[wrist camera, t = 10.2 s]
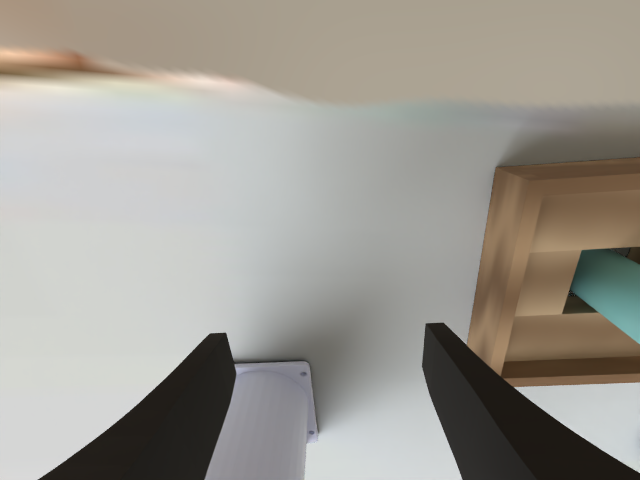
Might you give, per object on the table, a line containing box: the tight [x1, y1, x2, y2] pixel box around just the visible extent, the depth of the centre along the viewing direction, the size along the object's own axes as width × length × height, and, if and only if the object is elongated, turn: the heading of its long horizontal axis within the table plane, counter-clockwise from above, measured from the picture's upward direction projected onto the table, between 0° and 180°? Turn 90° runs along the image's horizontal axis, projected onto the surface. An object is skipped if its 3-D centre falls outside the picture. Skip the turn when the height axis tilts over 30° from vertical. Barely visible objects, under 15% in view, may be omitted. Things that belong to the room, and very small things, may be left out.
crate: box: [467, 157, 640, 387], centre depth 19 cm, size 14×14×3 cm
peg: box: [569, 248, 640, 344], centre depth 17 cm, size 3×3×6 cm
